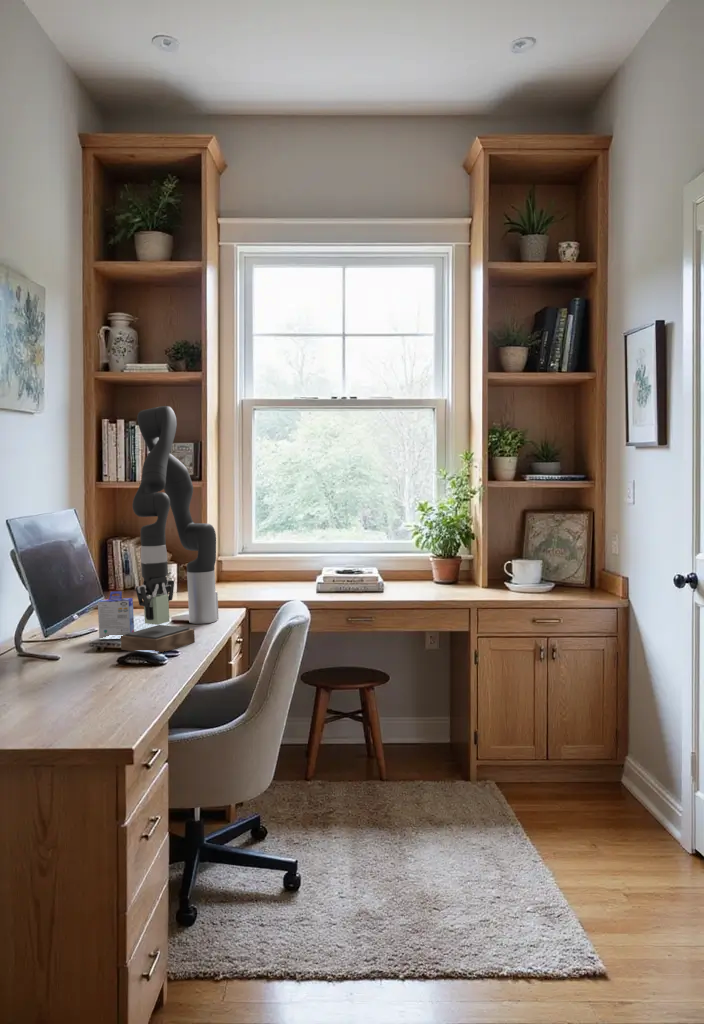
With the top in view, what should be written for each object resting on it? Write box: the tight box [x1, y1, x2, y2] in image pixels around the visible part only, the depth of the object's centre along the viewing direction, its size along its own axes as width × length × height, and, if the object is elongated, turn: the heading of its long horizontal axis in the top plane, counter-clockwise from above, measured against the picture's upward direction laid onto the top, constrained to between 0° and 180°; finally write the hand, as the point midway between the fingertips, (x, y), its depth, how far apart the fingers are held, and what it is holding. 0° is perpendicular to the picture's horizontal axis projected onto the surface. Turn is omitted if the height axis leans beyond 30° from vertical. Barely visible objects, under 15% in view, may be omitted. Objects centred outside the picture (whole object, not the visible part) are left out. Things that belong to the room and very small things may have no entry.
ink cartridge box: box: [97, 590, 135, 638], centre depth 255 cm, size 10×6×14 cm, turn 92°
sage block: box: [143, 594, 170, 626], centre depth 243 cm, size 5×5×8 cm
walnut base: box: [120, 624, 196, 653], centre depth 243 cm, size 16×14×4 cm
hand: (156, 617), depth 243 cm, fingers closed on sage block, 5 cm apart
